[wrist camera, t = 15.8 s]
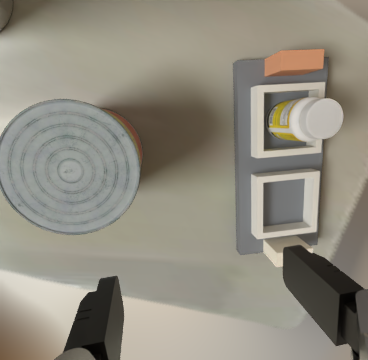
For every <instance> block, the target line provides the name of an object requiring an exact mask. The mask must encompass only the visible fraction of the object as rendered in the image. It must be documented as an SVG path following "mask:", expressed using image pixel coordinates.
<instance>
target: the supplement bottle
mask: <svg viewBox="0 0 368 360" xmlns="http://www.w3.org/2000/svg"><path fill="white" fill-rule="evenodd" d="M342 123H343V110H342V107H341V106H340V104H339V103H338V102H337V101H335V100H333V99H330V98H322V99H320V98H317V97H306V98H300V99H295V100H289V101H284V102H280V103H277V104H276V105H274V106H273V107H272V108H271V109H270V110H269V112H268V114H267V117H266V126H267V129H268V131H269V133H270V134H271V135H272V136H273V137H275V138H277V139H284V140H293V141H303V142H311V141H315V140H318V139H327V138H330V137H332V136H334V135H335V134H336V133H337V132H338V131H339V129H340V128H341V126H342Z"/></svg>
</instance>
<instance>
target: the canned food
mask: <svg viewBox="0 0 368 360" xmlns="http://www.w3.org/2000/svg"><path fill="white" fill-rule="evenodd" d="M142 160H143V149H142V144H141V140H140V138H139V135H138V133H137V132H136V130H135V129H134V127H133V126H132V125H131V124H130V123H129V122H128V121H127V120H126V119H125V118H124V117H122V116H121V115H119V114H117V113H115V112H113V111H111V110H108V109H103V108H98V107H96V106H94V105H91V104H88V103H85V102H82V101H77V100H70V99H54V100H48V101H44V102H40V103H37V104H35V105H32V106H30V107H28V108H26V109H25V110H23V111H22V112H20V113H19V114H18V115H16V116H15V117H14V118H13V119H12V120H11V121H10V122H9V124H8V125H7V126H6V128H5V129H4V131H3V132H2V134H1V136H0V189H1V191H2V193H3V195H4V197H5V198H6V200H7V201H8V203H9V204H10V205H11V207H12V208H13V209H14V210H15V211H16V212H17V213H18V214H19V215H20V216H22V217H23V218H24V219H25V220H27V221H28V222H30V223H31V224H33V225H35V226H37V227H39V228H41V229H44V230H47V231H50V232H53V233H58V234H65V235H80V234H87V233H92V232H95V231H98V230H101V229H103V228H105V227H107V226H109V225H110V224H112V223H114V222H115V221H116V220H117V219H119V218H120V217H121V216H122V215H123V214H124V213H125V212H126V211H127V209H128V208H129V207H130V205H131V204H132V202H133V200H134V198H135V196H136V193H137V190H138V187H139V182H140V169H141V165H142Z"/></svg>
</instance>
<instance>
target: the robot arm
mask: <svg viewBox="0 0 368 360" xmlns="http://www.w3.org/2000/svg"><path fill="white" fill-rule="evenodd" d="M12 7H13V0H0V31H1V30H2V29H3V27H4V26H5V25H6V24H7V22H8V20H9V18H10V16H11V12H12ZM283 279H284V282H285V285H286V287H287V288H288V289H289V291H290V292H291V293H292V294H293V295H294V297H295V298H296V299H297V300H298V301H299V303H300V304H301V305H302V306H303V307H304V308H305V310H306V311H307V312H308V313H309V314H310V315H311V316H312V318H313V319H314V320H315V322H316V323H317V324H318V325H319V326H320V328H321V329H322V330H323V331H324V332H325V333H326V335H327V336H328V337H329V338H330V339H331V340H332V342H333V343H334V344H335V345H336V346H339V345H343V344H347V343H348V344H349V345H350V346H351V360H368V289H364V288H363V287H361V286H360V285H359V284H357V283H356V282H355V281H354V280H352V279H351V278H350V277H348V276H347V275H346V274H345V273H343V272H342V271H340V270H339V269H338V268H337V267H336V266H333V264H332V263H330V262H329V261H328V260H327V259H325V258H324V257H321V256H319V255H317V254H315V253H310V252H309V251H308V250H307V249H305V248H304V247H303V246H302V245H294V246H288V247H284V249H283ZM123 323H124V308H123V301H122V296H121V291H120V285H119V280H118V277H117V276H113V277H107V278H101V279H100V280H99V284H98V287H97V291H95V292H89V293H88V294H87V295H86V296H85V297H84V298H83V300H82V301H81V302H80V305H79V308H78V311H77V314H76V317H75V321H74V323H73V325H72V328H71V331H70V334H69V337H68V340H67V343H66V346H65V349H64V351H63V353H62V354H61V355H59V356H58V357H57V358H56V359H54V360H120V353H121V342H122V333H123Z"/></svg>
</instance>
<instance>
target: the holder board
mask: <svg viewBox="0 0 368 360" xmlns="http://www.w3.org/2000/svg"><path fill="white" fill-rule="evenodd" d="M328 60H329V57H324V49H311V50H283V51H280V52H278V53H276V54H274V55H272V56H270V57H268V58H266V59H263V60H238V61H236V62H234V63H233V82H234V134H235V186H236V238H237V251H238V253H239V254H240V255H245V254H252V253H260V252H264V253H265V254H266V256H267V257H268V258H269V259H270V260H271V261H272V262H273V263H274V265H275V266H276V267H281V266H283V249H284V247H288V246H294V245H302V246H303V247H304V248H305V249H307V250H308V251H309V252H310V253H313V248H312V247H311V246H312V245H317V242H318V225H319V209H320V192H321V176H322V159H323V143H324V139H318V140H315V141H311V142H303V141H293V140H284V139H277V138H275V137H273V136H272V135H271V134H270V133H269V131H268V129H267V126H266V117H267V114H268V112H269V110H270V109H271V108H272V107H273V106H274V105H276V104H277V103H280V102H284V101H289V100H295V99H300V98H306V97H317V98H320V99H322V98H326V93H327V76H328Z"/></svg>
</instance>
